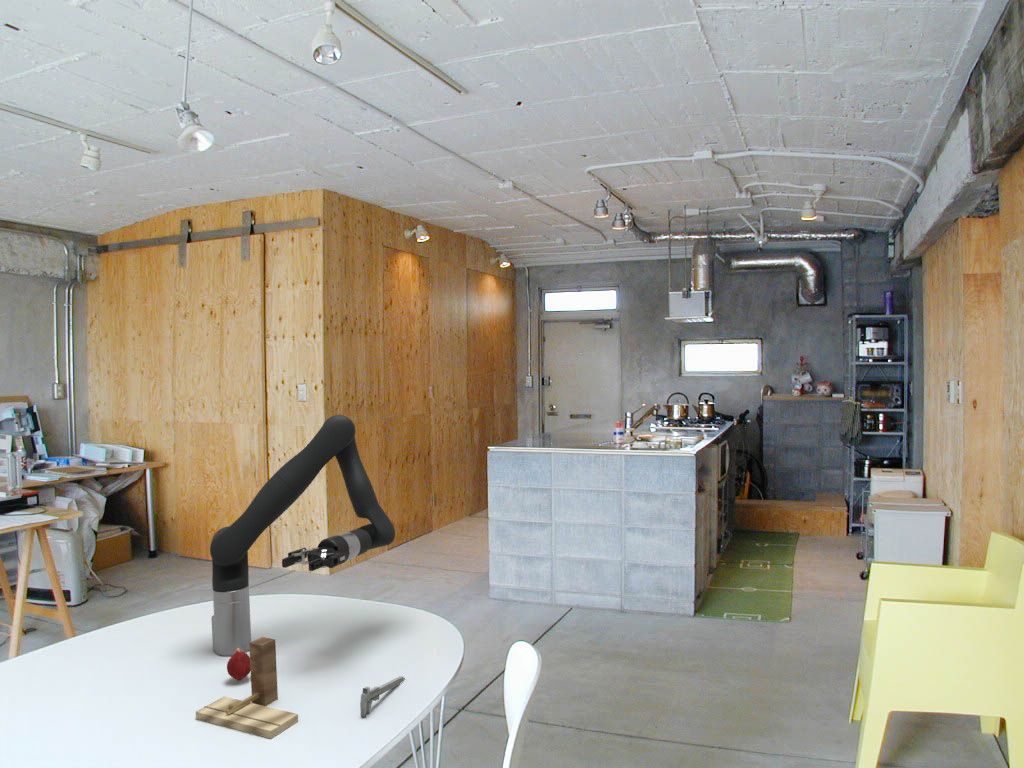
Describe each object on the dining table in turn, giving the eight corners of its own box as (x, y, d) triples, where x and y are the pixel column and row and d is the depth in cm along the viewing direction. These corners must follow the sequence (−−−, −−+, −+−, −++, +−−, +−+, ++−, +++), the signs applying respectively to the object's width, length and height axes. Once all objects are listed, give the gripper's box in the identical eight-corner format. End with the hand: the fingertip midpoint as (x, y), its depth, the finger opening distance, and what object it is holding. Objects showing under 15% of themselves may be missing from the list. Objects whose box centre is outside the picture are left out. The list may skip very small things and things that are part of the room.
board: (196, 718, 165) (195, 711, 165) (224, 703, 173) (224, 696, 172) (271, 738, 156) (270, 730, 156) (298, 721, 163) (297, 713, 163)
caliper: (365, 719, 163) (364, 691, 163) (360, 719, 164) (359, 690, 163) (405, 680, 183) (404, 654, 182) (401, 679, 183) (400, 654, 183)
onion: (257, 677, 186) (256, 645, 186) (242, 686, 181) (240, 654, 181) (238, 674, 188) (236, 643, 188) (222, 684, 183) (220, 651, 182)
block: (221, 720, 164) (218, 657, 164) (264, 695, 176) (262, 636, 175) (234, 724, 162) (231, 660, 162) (277, 698, 174) (275, 639, 173)
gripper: (317, 532, 202) (273, 547, 187) (360, 537, 195) (318, 552, 181) (318, 560, 202) (274, 577, 187) (361, 565, 196) (319, 583, 181)
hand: (296, 565), depth 184 cm, fingers open, 8 cm apart
